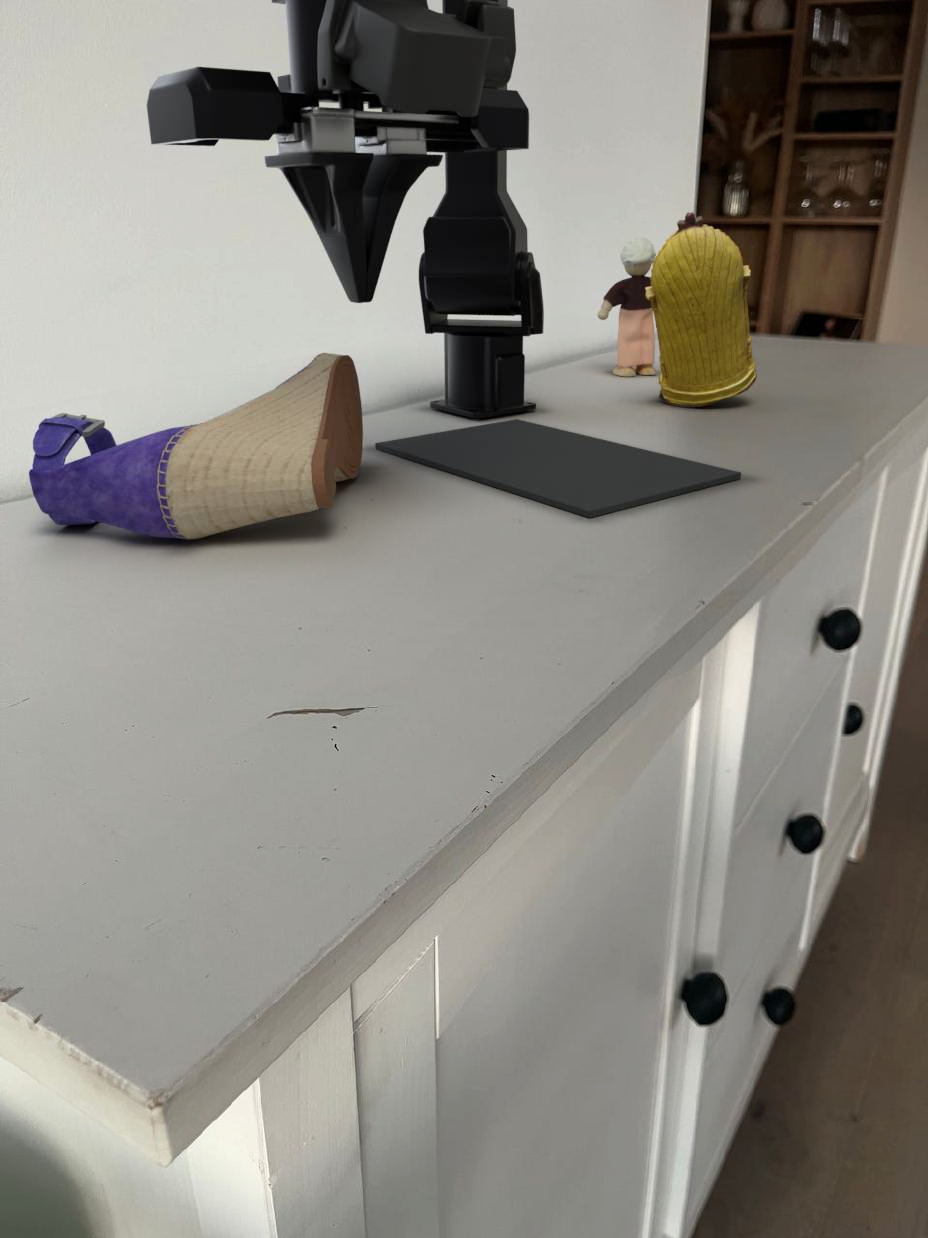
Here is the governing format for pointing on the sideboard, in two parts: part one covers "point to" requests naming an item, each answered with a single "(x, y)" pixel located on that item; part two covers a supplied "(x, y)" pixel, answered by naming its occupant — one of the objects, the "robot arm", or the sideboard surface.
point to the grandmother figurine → (633, 311)
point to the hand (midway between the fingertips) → (360, 302)
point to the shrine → (701, 316)
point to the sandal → (210, 461)
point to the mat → (559, 466)
